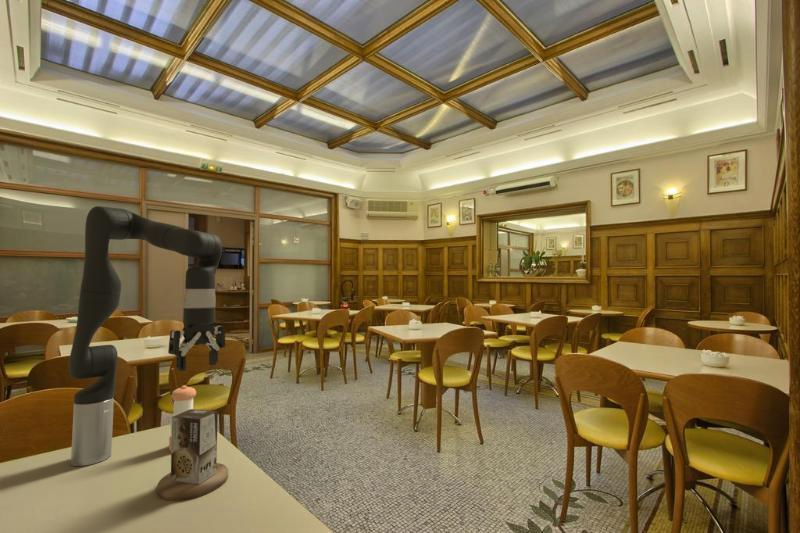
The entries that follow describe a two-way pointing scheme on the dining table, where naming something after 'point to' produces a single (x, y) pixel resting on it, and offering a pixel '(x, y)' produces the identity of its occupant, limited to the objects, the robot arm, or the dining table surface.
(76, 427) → the robot arm
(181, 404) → the pepper shaker
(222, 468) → the disc
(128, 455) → the dining table surface
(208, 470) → the coffee box
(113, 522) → the dining table surface
